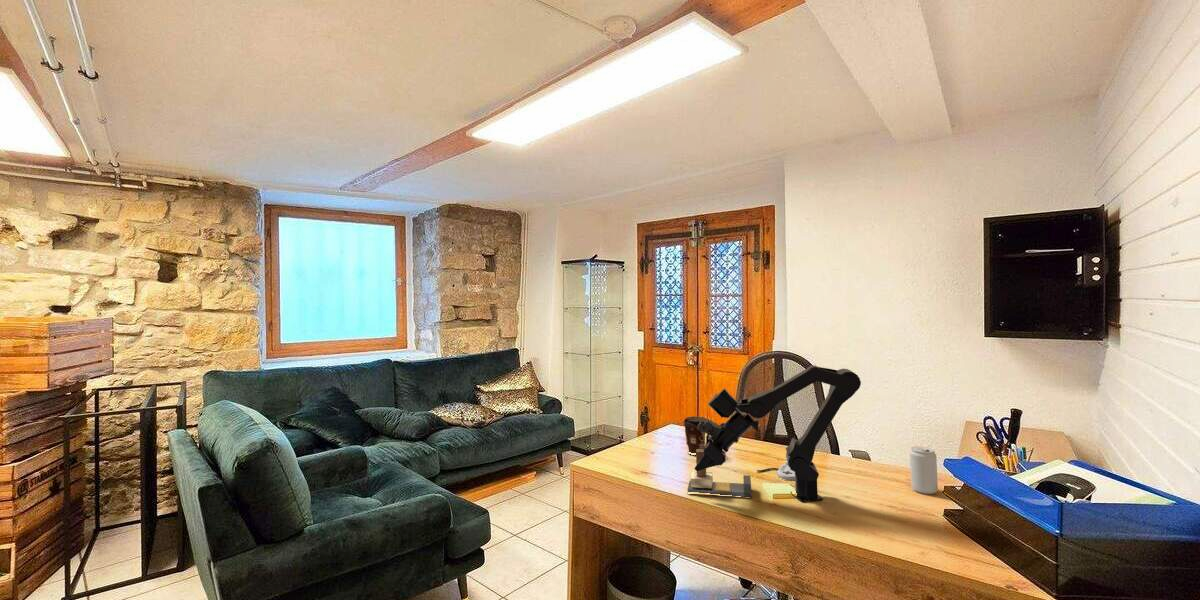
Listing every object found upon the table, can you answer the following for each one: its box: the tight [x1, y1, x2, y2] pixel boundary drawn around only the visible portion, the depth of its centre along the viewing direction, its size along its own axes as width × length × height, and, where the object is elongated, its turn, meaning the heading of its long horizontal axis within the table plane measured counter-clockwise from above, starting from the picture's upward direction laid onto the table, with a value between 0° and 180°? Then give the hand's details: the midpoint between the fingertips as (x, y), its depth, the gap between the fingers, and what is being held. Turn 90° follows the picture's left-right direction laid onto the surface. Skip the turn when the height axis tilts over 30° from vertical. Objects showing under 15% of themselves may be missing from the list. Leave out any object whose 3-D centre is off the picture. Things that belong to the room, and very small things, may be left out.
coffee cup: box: [683, 415, 706, 453], centre depth 183 cm, size 9×8×13 cm
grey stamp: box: [690, 449, 714, 488], centre depth 148 cm, size 6×6×10 cm
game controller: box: [756, 461, 795, 481], centre depth 162 cm, size 15×13×2 cm
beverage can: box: [909, 446, 939, 495], centre depth 142 cm, size 6×6×12 cm
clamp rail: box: [687, 474, 753, 499], centre depth 147 cm, size 18×7×4 cm, turn 75°
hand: (696, 464), depth 149 cm, fingers open, 9 cm apart
